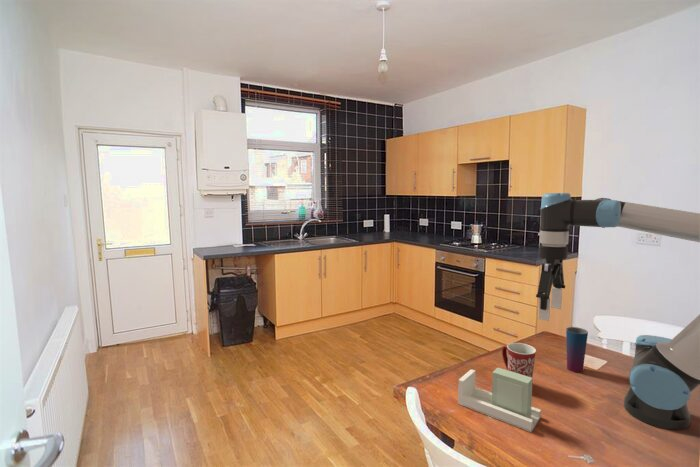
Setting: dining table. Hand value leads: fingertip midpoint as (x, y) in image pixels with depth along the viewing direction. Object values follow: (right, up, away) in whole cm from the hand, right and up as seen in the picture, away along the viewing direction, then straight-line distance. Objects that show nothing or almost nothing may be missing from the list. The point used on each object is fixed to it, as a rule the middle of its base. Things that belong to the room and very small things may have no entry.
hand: (550, 313), depth 114 cm
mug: (-4, -27, +15) cm, 31 cm away
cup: (+22, -26, +24) cm, 42 cm away
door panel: (-13, -29, -3) cm, 32 cm away
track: (-16, -29, -1) cm, 33 cm away
